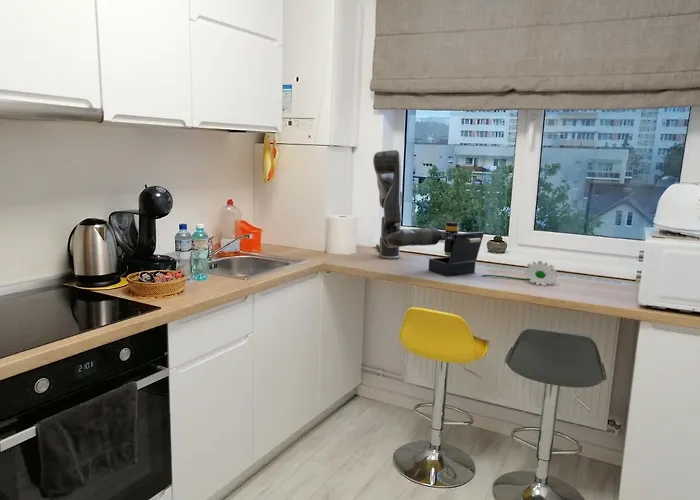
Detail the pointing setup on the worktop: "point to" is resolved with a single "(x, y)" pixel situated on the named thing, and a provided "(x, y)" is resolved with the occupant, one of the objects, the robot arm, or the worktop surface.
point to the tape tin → (451, 228)
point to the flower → (537, 273)
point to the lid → (466, 247)
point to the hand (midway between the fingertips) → (455, 234)
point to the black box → (451, 267)
